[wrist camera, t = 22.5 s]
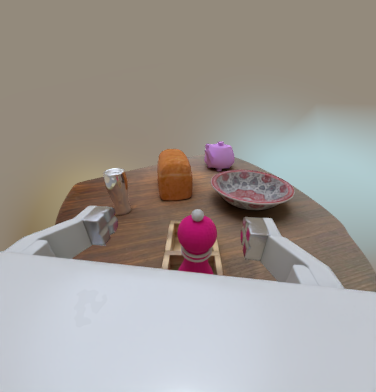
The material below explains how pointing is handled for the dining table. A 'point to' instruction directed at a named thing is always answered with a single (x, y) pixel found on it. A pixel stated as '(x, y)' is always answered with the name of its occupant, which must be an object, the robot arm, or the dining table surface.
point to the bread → (174, 175)
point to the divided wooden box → (175, 257)
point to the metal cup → (118, 189)
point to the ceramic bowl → (252, 189)
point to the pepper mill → (196, 242)
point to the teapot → (219, 156)
